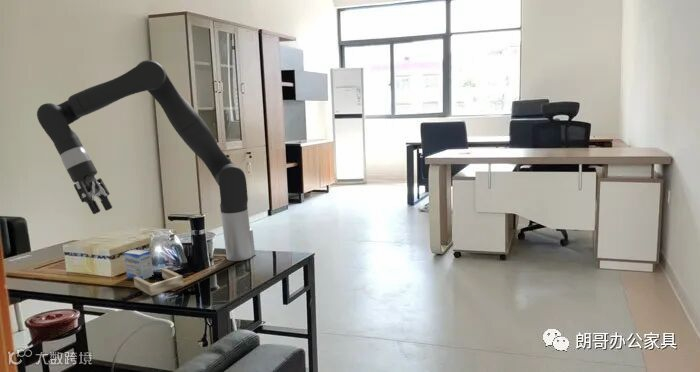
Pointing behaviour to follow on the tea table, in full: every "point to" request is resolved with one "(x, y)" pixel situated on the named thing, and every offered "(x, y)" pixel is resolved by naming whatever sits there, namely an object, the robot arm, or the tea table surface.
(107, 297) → the tea table surface
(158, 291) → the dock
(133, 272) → the medicine box
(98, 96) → the robot arm
